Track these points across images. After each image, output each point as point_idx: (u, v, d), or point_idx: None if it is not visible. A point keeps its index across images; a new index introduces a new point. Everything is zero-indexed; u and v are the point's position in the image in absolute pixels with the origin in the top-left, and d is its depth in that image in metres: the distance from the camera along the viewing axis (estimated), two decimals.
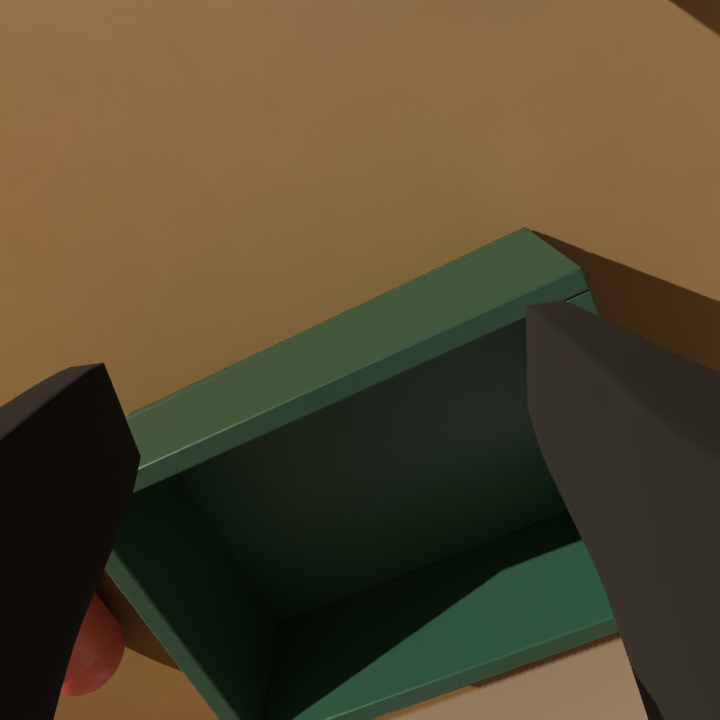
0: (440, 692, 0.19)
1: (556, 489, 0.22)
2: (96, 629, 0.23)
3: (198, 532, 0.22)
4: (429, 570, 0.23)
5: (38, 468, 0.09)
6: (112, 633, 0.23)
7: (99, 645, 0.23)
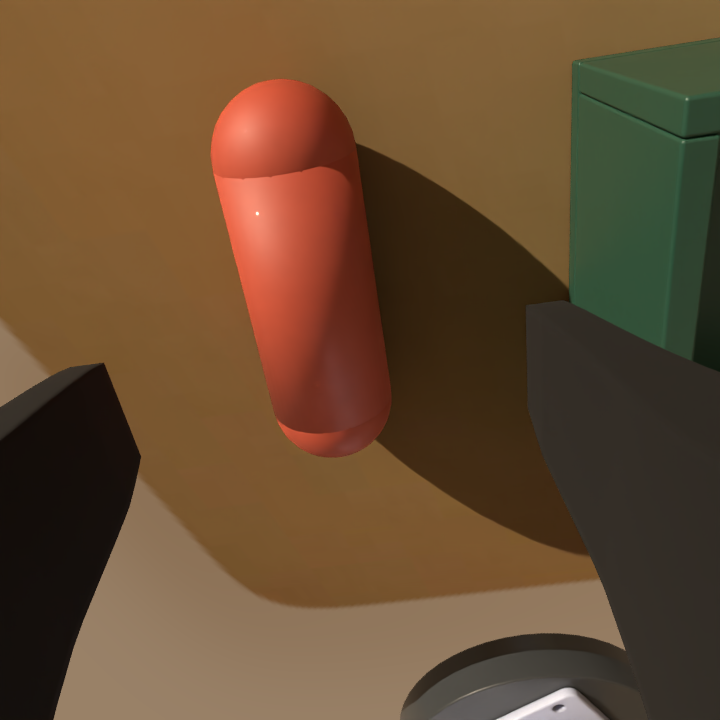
0: None
1: None
2: (379, 381, 0.15)
3: None
4: None
5: (38, 468, 0.09)
6: (388, 394, 0.16)
7: (376, 403, 0.15)
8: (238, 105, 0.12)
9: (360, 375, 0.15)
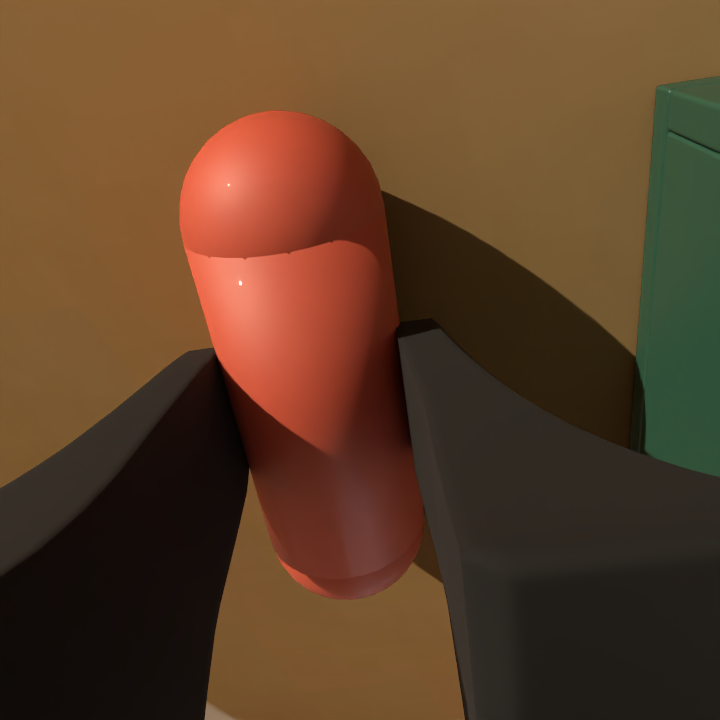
0: None
1: None
2: (417, 494, 0.12)
3: None
4: None
5: (185, 449, 0.09)
6: (422, 505, 0.12)
7: (415, 524, 0.12)
8: (226, 151, 0.08)
9: (400, 496, 0.11)
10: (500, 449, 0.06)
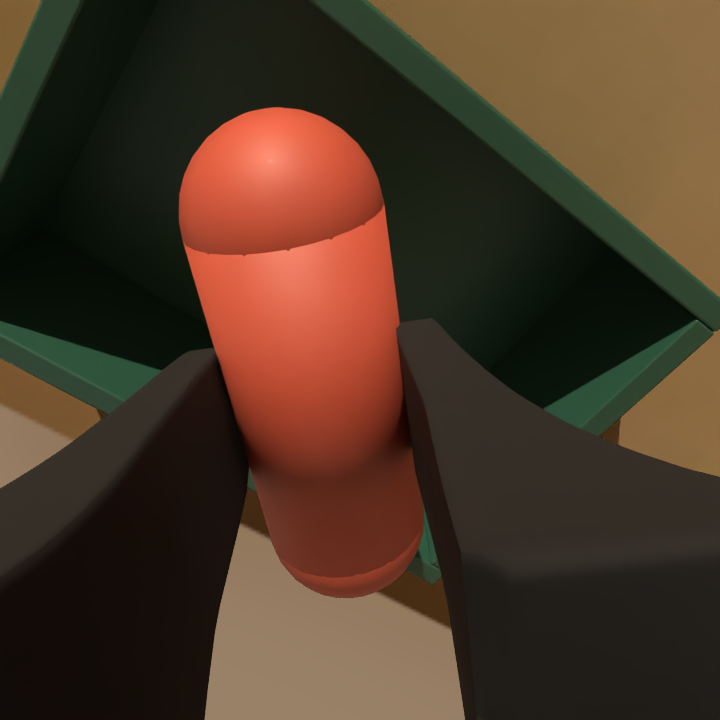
0: None
1: None
2: (417, 492, 0.12)
3: (117, 59, 0.15)
4: None
5: (185, 449, 0.09)
6: (422, 503, 0.12)
7: (415, 522, 0.12)
8: (225, 148, 0.08)
9: (400, 494, 0.11)
10: (500, 449, 0.06)
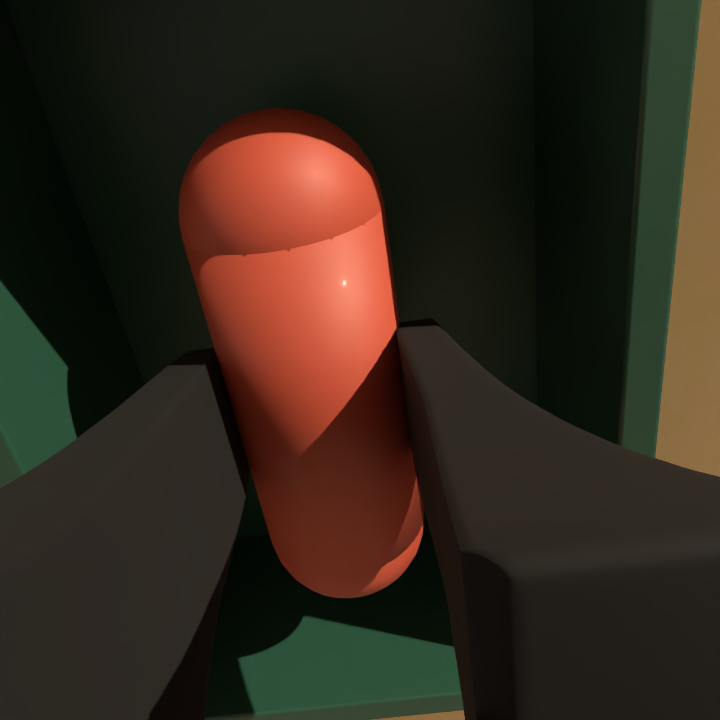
0: None
1: None
2: (416, 493, 0.12)
3: None
4: (113, 319, 0.14)
5: (186, 449, 0.09)
6: (422, 504, 0.12)
7: (415, 523, 0.12)
8: (225, 148, 0.08)
9: (400, 494, 0.11)
10: (500, 450, 0.06)
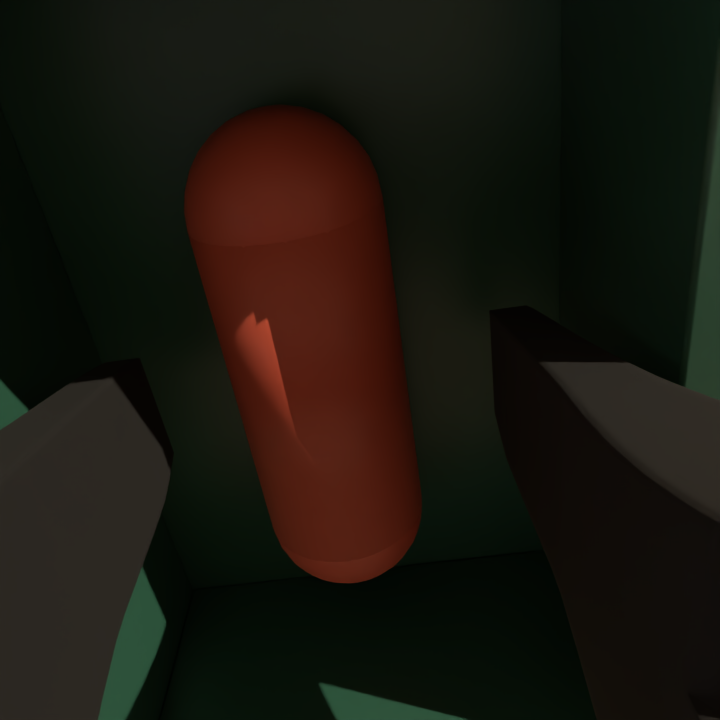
0: None
1: (212, 533, 0.15)
2: (413, 482, 0.12)
3: None
4: (91, 355, 0.13)
5: (82, 462, 0.09)
6: (420, 494, 0.13)
7: (412, 511, 0.12)
8: (228, 143, 0.09)
9: (396, 483, 0.11)
10: (669, 430, 0.06)
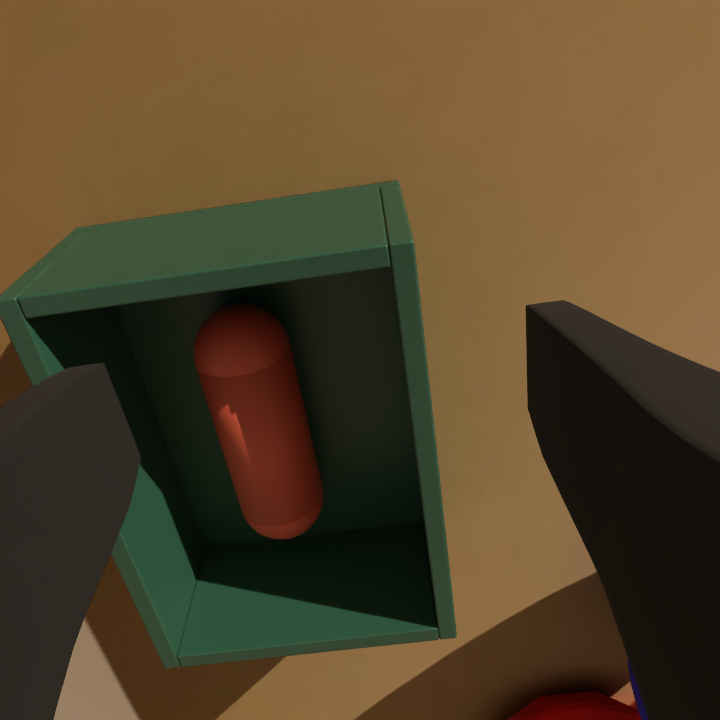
0: None
1: (216, 513, 0.26)
2: (310, 490, 0.22)
3: None
4: (151, 413, 0.23)
5: (38, 468, 0.09)
6: (319, 497, 0.23)
7: (308, 506, 0.22)
8: (209, 329, 0.19)
9: (294, 490, 0.22)
10: None
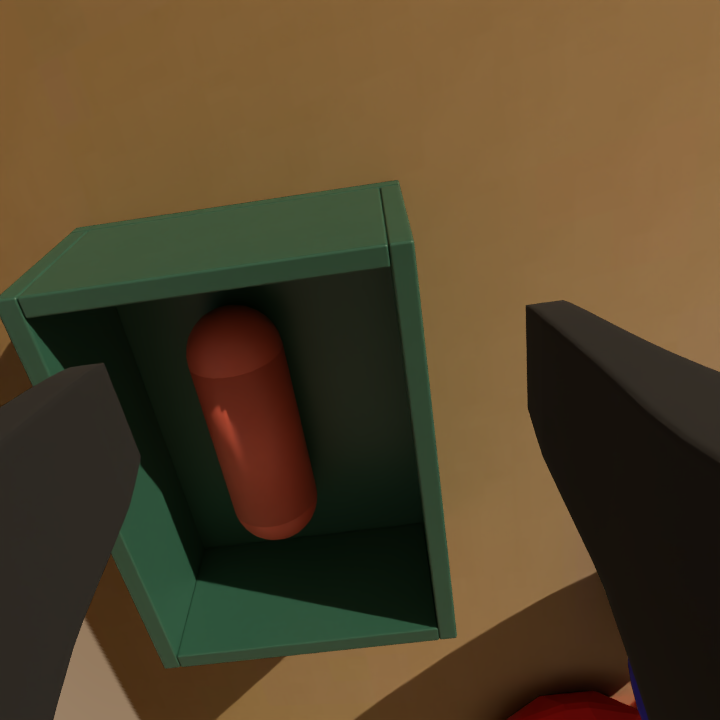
0: None
1: (216, 513, 0.26)
2: (299, 495, 0.22)
3: None
4: (151, 413, 0.23)
5: (38, 468, 0.09)
6: (310, 502, 0.23)
7: (296, 510, 0.22)
8: (199, 329, 0.19)
9: (281, 494, 0.21)
10: None
